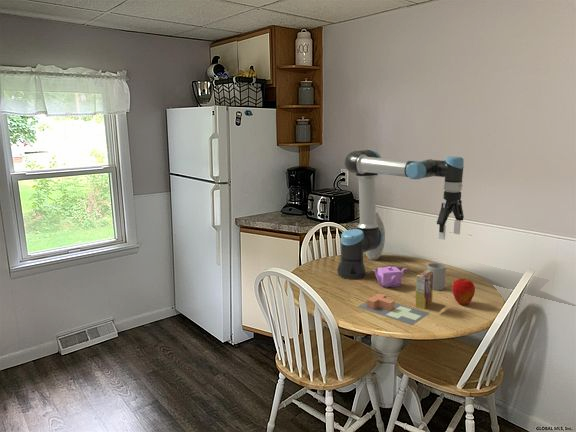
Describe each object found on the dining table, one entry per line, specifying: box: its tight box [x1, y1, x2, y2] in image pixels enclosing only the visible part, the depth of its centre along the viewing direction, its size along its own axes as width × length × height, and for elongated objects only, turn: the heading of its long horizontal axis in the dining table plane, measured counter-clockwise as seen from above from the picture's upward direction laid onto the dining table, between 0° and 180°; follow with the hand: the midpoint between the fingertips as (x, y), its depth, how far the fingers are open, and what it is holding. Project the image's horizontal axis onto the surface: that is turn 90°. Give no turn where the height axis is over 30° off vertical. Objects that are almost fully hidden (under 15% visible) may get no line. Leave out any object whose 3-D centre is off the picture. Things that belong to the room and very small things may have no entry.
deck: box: [357, 301, 430, 326], centre depth 189 cm, size 26×15×1 cm, turn 47°
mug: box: [426, 262, 447, 291], centre depth 218 cm, size 12×8×11 cm
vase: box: [364, 211, 386, 261], centre depth 262 cm, size 13×13×28 cm
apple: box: [452, 278, 476, 306], centre depth 197 cm, size 9×9×12 cm
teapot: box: [371, 265, 408, 289], centre depth 218 cm, size 18×13×10 cm
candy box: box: [415, 269, 434, 310], centre depth 193 cm, size 9×4×15 cm, turn 140°
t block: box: [366, 293, 396, 311], centre depth 192 cm, size 10×10×4 cm
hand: (449, 236), depth 207 cm, fingers open, 13 cm apart
